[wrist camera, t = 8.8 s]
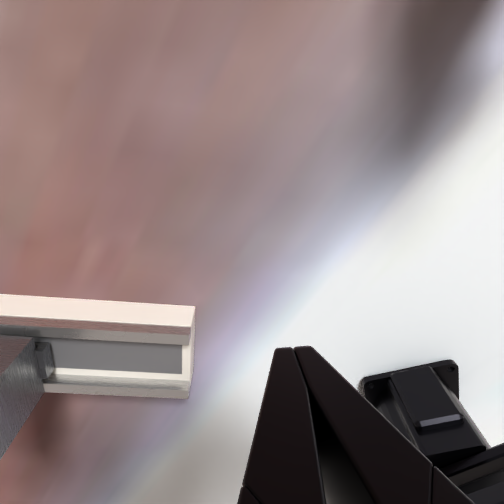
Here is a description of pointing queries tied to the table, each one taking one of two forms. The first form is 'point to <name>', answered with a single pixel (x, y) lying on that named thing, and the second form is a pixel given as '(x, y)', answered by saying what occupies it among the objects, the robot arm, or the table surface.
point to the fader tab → (20, 382)
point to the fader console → (108, 344)
